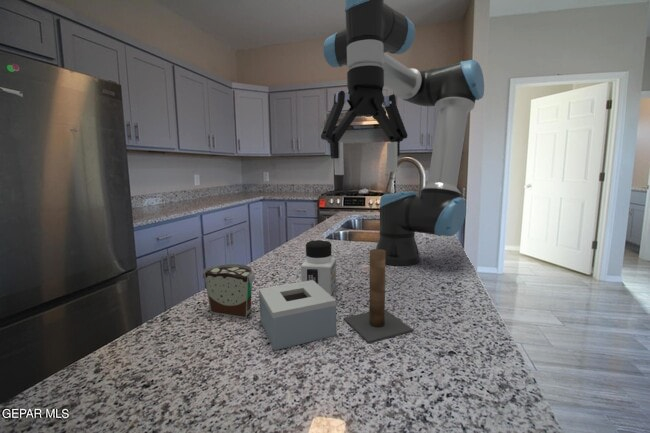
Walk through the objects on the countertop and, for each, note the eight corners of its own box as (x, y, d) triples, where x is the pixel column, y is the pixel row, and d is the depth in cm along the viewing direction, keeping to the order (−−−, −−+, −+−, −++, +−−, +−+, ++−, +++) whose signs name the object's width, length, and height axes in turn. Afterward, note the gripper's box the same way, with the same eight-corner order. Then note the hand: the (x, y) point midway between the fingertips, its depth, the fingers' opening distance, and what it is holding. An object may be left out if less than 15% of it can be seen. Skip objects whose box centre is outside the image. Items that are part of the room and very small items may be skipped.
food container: (267, 307, 72) (265, 265, 70) (252, 319, 66) (250, 274, 65) (222, 300, 76) (219, 261, 74) (205, 311, 70) (201, 269, 69)
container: (331, 296, 77) (330, 245, 75) (301, 294, 79) (299, 244, 77) (336, 284, 85) (335, 238, 83) (308, 283, 86) (307, 237, 85)
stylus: (379, 318, 64) (379, 248, 62) (387, 325, 62) (388, 251, 59) (366, 321, 63) (366, 250, 61) (374, 328, 61) (375, 253, 58)
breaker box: (313, 309, 70) (312, 279, 69) (336, 335, 59) (336, 300, 58) (260, 320, 65) (258, 288, 64) (274, 350, 55) (272, 312, 53)
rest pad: (383, 310, 69) (383, 308, 69) (413, 331, 60) (413, 329, 60) (343, 319, 65) (343, 317, 65) (368, 343, 56) (368, 341, 56)
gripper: (401, 78, 73) (401, 170, 76) (302, 68, 62) (307, 175, 66) (424, 69, 66) (423, 170, 70) (317, 56, 56) (322, 176, 59)
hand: (366, 173), depth 68 cm, fingers open, 13 cm apart
